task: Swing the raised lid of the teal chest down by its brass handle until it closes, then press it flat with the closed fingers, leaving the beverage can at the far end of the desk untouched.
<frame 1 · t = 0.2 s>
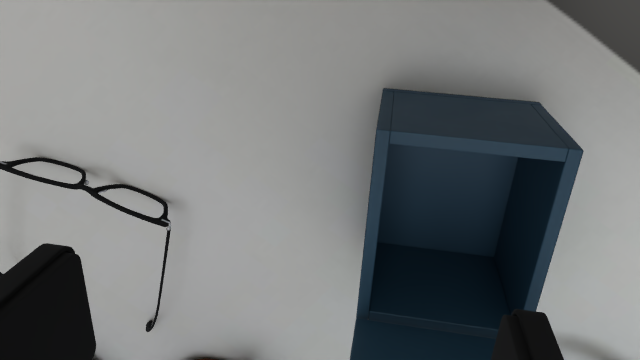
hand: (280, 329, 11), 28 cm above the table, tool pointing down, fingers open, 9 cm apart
chest: (445, 179, 39), on the table
eyeglasses: (98, 241, 47), on the table
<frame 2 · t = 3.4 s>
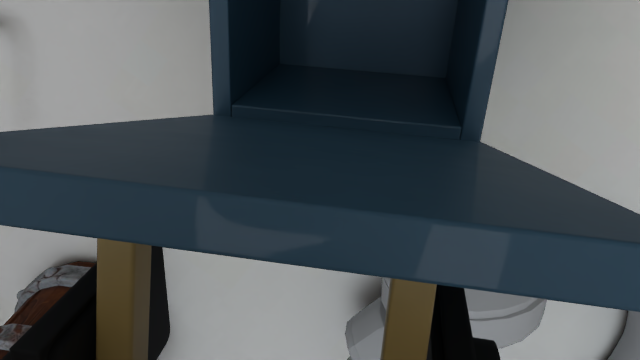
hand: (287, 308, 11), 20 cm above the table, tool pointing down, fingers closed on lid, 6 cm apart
headphones: (496, 313, 35), on the table
lid: (306, 247, 14), point 18 cm above the table, hinge at 75.0°, touching gripper
mug: (107, 299, 40), on the table
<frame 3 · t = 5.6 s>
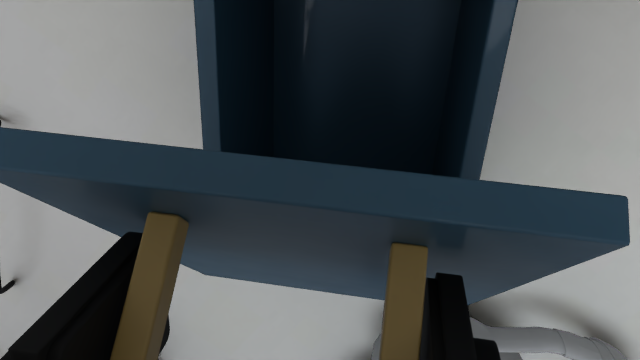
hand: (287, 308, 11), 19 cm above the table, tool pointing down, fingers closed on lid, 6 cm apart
chest: (360, 74, 28), on the table
lid: (298, 340, 14), point 17 cm above the table, hinge at 45.3°, touching gripper
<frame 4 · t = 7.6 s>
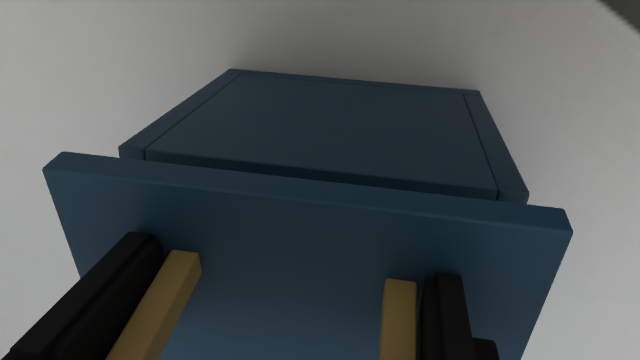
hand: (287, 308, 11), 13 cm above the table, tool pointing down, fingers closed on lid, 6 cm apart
chest: (340, 212, 25), on the table
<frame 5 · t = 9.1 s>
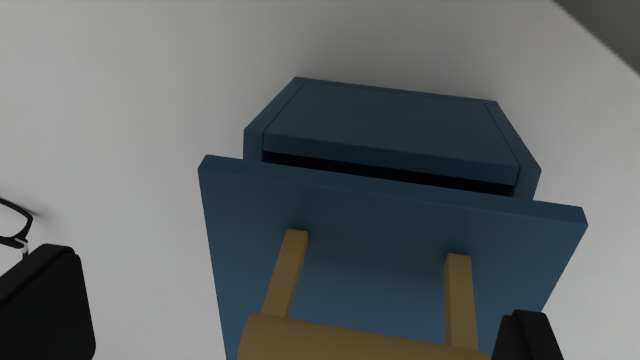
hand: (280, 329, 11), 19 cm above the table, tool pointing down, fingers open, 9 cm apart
chest: (377, 198, 30), on the table
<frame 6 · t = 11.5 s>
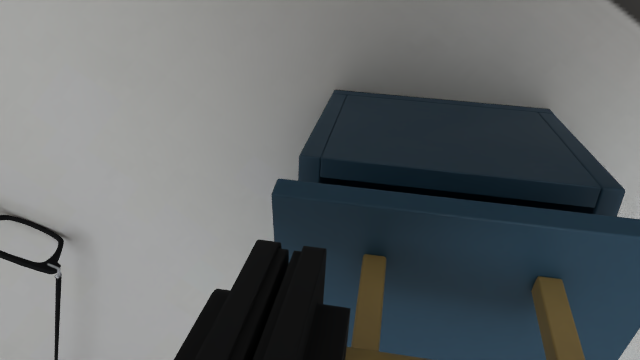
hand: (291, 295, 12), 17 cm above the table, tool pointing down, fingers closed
chest: (421, 212, 29), on the table
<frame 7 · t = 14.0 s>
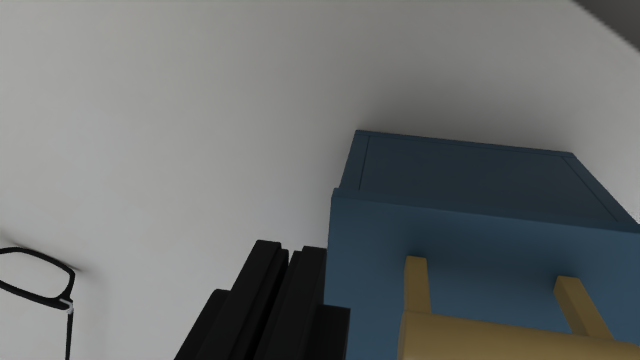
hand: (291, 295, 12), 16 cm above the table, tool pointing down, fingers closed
chest: (440, 251, 29), on the table
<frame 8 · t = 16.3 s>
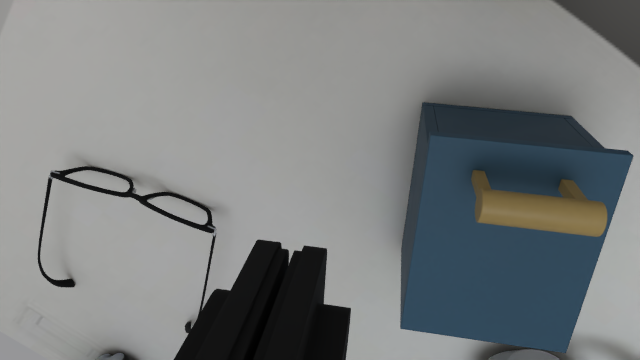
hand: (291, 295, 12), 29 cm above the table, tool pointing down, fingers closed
chest: (479, 188, 41), on the table
lid: (509, 271, 29), point 13 cm above the table, hinge at -0.2°, touching chest
eyeglasses: (141, 246, 49), on the table
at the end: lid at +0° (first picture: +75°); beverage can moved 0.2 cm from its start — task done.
